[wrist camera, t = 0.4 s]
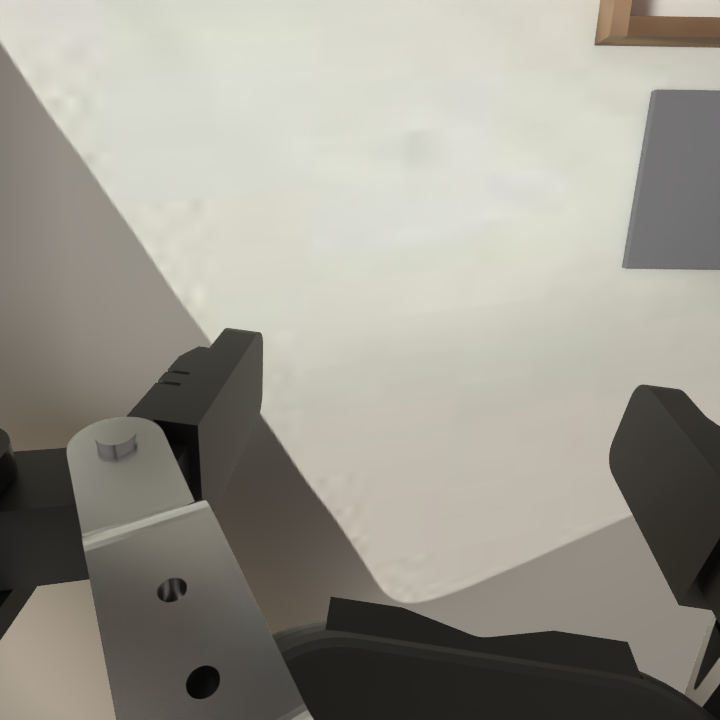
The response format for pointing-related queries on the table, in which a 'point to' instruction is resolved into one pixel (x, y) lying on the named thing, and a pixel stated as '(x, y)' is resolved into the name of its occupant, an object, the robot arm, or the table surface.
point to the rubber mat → (678, 185)
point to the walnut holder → (653, 28)
